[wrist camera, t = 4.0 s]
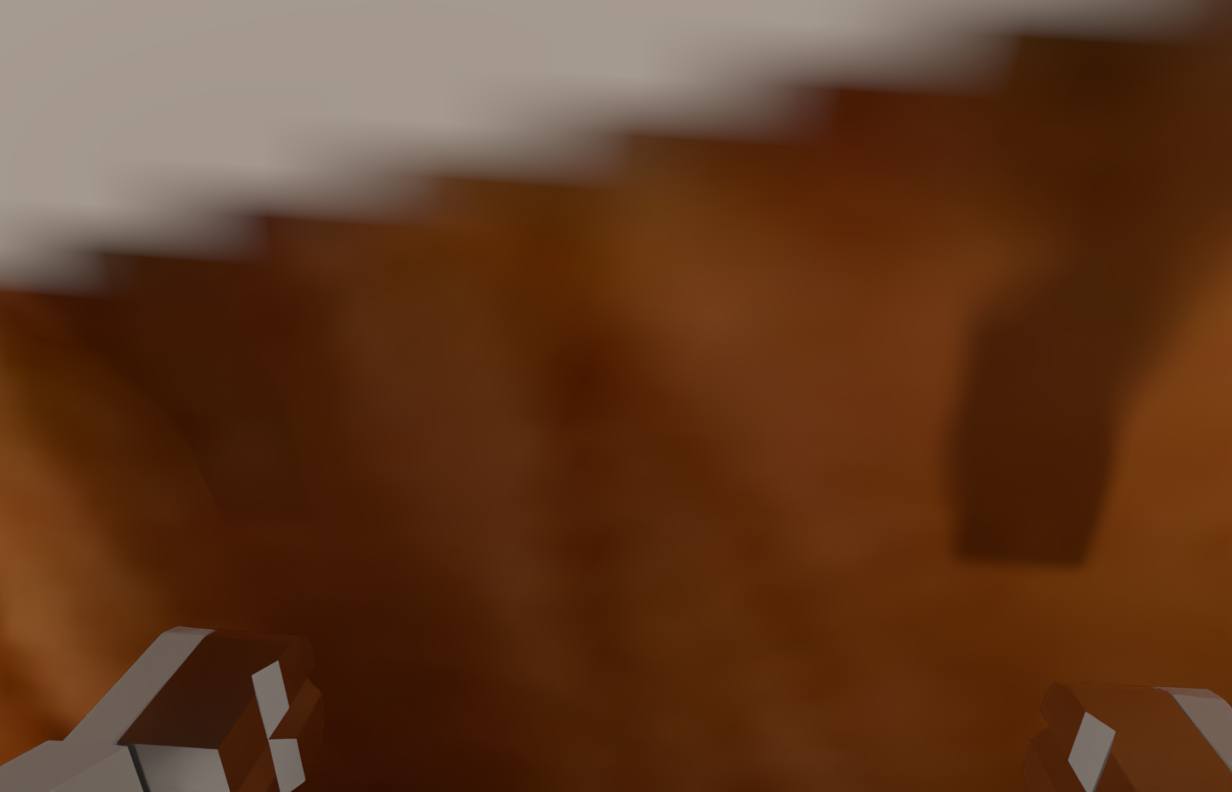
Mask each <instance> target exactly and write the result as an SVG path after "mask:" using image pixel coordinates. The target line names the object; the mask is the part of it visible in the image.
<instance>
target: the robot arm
mask: <svg viewBox="0 0 1232 792" xmlns="http://www.w3.org/2000/svg"><path fill="white" fill-rule="evenodd" d="M315 664H316V662H315V658H314V654H313V650H312V646H311V642H310V640H308V639H306V638H304V637H301V636H294V635H282V634H271V633H259V632H248V631H236V630H225V629H218V630H211V629H201V628H190V627H180V626H177V627H174V628H172V629H170V630H168V631H165V632H163V633H162V634H161V635H160V636H159V637H158V638H157V639H156V640H155V641H154V642H153V643H152V644H151V646H150V647H149V648H148V649H147V650H146V651H145V652H144V653H143V654H142V655H141V656H140V658H139V659H138V660H137V661H136V662H135V663H134V664H133V665H132V666H131V667H130V668H129V670H128V671H127V672H126V673H125V674H124V675H123V676H122V677H121V678H120V679H119V680H118V681H117V683H116V684H115V685H114V686H113V687H112V688H111V689H110V690H109V691H108V692H107V693H106V695H105V696H104V697H103V698H102V699H101V700H100V701H99V702H98V703H97V704H96V705H95V707H94V708H93V709H92V710H91V711H90V712H89V713H88V714H87V715H86V716H85V717H84V719H83V720H82V721H81V722H80V723H79V724H78V725H77V726H76V727H75V728H74V729H73V730H72V732H71V733H70V734H69V735H68V736H67V737H66V738H65V739H64V740H63V741H51V740H48V741H46V742H44V743H43V744H41V745H39V746H37V747H35V748H33V749H31V750H29V751H28V752H26V753H24V754H22V755H20V756H18V757H16V758H15V759H13V760H11V761H9V762H7V763H5V764H3V765H1V766H0V792H291V791H292V790H294V789H295V788H296V787H298V786H299V785H300V784H302V783H303V782H304V781H306V779H307V777H308V774H309V772H310V770H311V768H312V766H313V764H314V762H315V760H316V758H317V756H318V752H319V748H320V744H321V740H322V737H323V733H324V720H325V708H324V702H323V697H322V693H321V692H320V691H319V690H318V689H317V688H316V687H315V686H314V685H313V684H312V683H311V682H310V681H309V680H308V679H307V677H308V675H309V674H310V672H311V670H312V669H313V667H314V665H315ZM1040 711H1041V712H1042V714H1043V716H1044V718H1045V720H1046V721H1047V723H1048V725H1049V726H1048V727H1047V728H1045V729H1044V730H1043V731H1041V732H1040V733H1038V734H1037V735H1036V736H1034V737H1033V738H1032V739H1030V741H1029V745H1028V749H1027V753H1026V756H1025V760H1024V777H1025V791H1026V792H1232V708H1231V707H1230V705H1229V704H1228V703H1227V702H1226V701H1225V700H1224V699H1223V698H1222V697H1220V696H1219V695H1217V694H1215V693H1214V692H1212V691H1210V690H1208V689H1196V688H1174V687H1154V688H1151V687H1145V686H1125V685H1106V684H1087V683H1068V682H1054V683H1053V684H1052V685H1051V686H1050V687H1049V688H1048V689H1047V690H1046V692H1045V695H1044V698H1043V701H1042V704H1041V707H1040Z"/></svg>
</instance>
